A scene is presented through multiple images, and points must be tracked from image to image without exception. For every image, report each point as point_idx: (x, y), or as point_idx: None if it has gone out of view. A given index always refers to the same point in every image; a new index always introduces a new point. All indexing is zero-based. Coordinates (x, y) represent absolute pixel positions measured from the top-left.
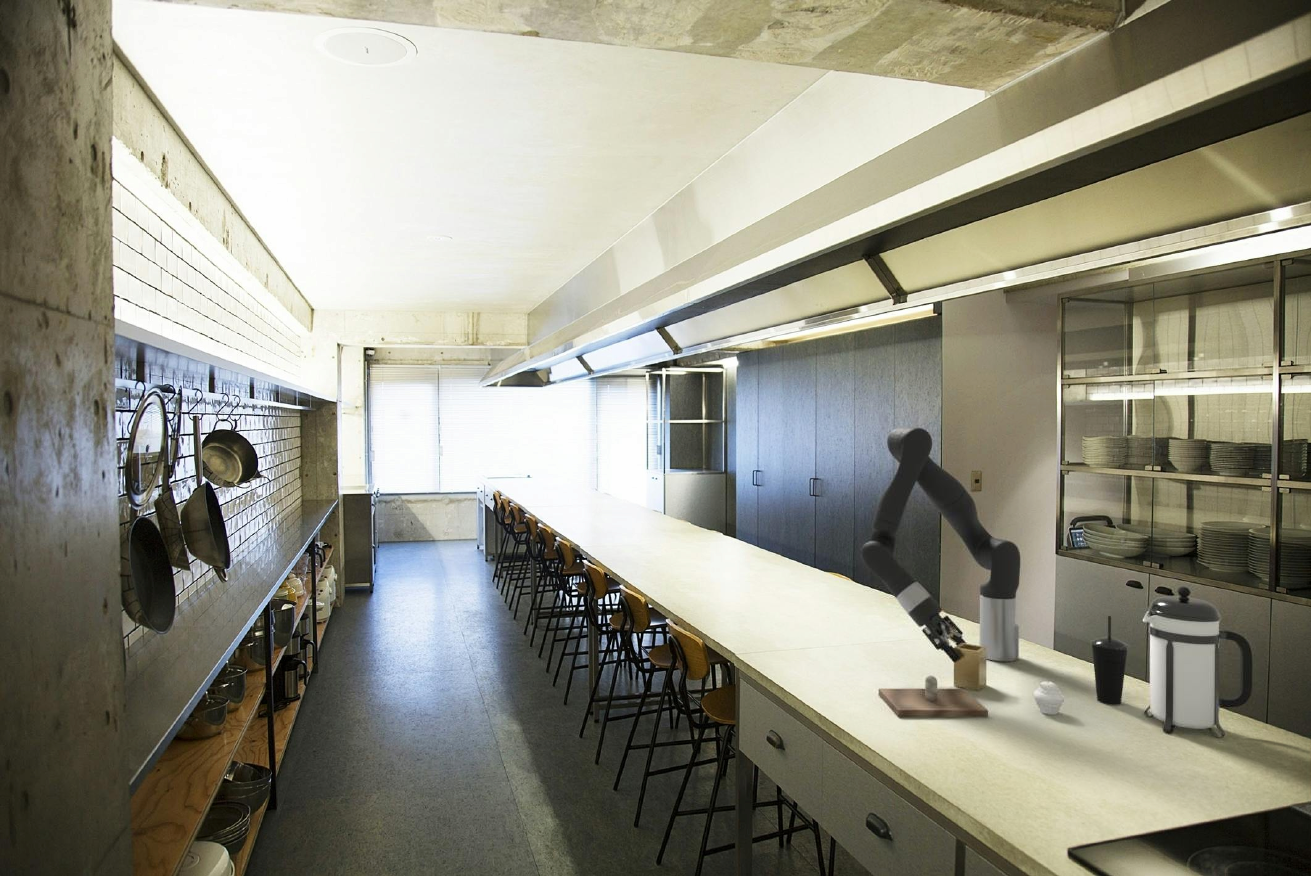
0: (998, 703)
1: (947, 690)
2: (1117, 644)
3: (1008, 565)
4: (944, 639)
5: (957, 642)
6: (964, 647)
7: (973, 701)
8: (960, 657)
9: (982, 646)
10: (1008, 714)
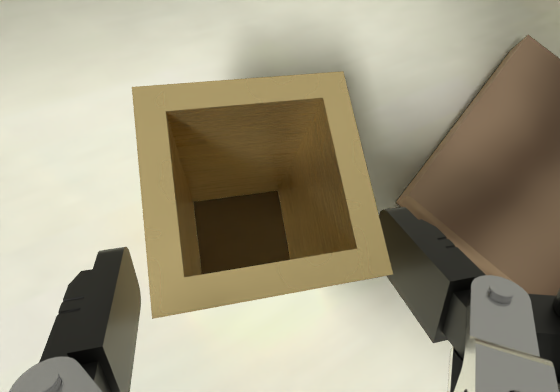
0: (364, 70)
1: (480, 227)
2: None
3: None
4: (529, 343)
5: (121, 385)
6: (186, 274)
7: (498, 99)
8: (391, 209)
9: (141, 117)
10: (435, 15)
